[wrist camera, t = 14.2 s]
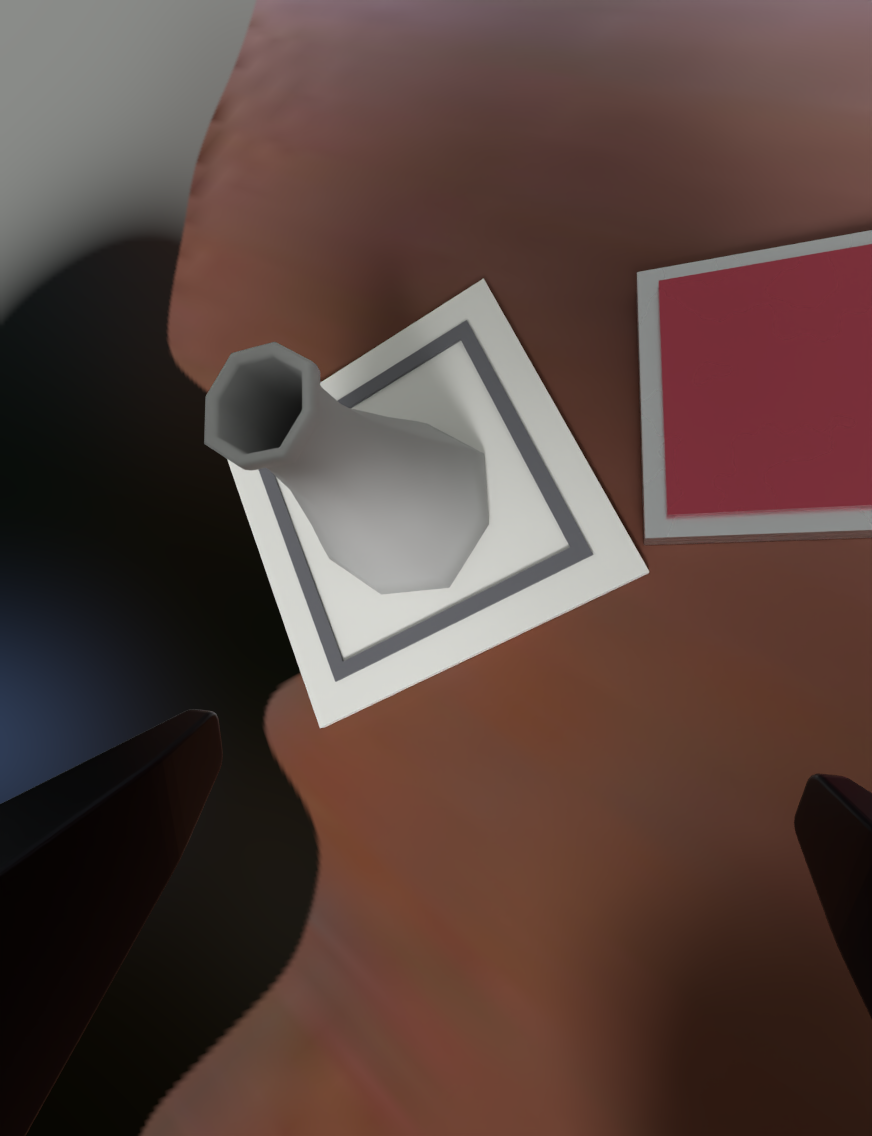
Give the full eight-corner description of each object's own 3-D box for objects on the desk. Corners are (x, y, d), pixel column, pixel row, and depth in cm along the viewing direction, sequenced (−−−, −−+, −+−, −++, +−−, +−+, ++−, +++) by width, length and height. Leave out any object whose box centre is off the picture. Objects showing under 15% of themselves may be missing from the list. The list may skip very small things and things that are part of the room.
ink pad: (996, 533, 17) (1030, 521, 15) (643, 545, 20) (645, 536, 19) (957, 238, 18) (984, 203, 17) (636, 292, 22) (637, 266, 20)
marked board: (648, 573, 20) (649, 570, 19) (324, 727, 23) (318, 728, 22) (485, 284, 24) (482, 276, 23) (228, 448, 27) (220, 444, 26)
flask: (309, 575, 24) (104, 519, 14) (353, 416, 24) (184, 261, 15) (467, 616, 21) (345, 580, 12) (513, 437, 22) (430, 267, 12)
